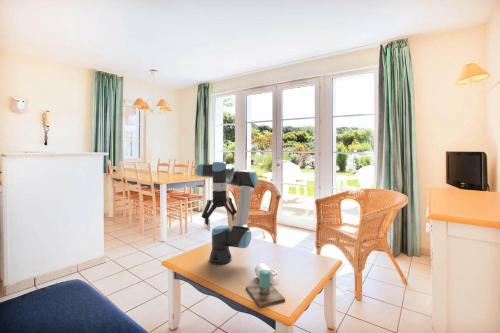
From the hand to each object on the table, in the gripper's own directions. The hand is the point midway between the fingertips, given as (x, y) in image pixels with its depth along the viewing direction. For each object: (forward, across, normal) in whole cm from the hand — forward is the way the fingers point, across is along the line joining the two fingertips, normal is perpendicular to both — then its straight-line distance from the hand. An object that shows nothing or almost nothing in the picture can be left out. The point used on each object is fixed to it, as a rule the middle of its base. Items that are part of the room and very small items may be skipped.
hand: (219, 228), depth 139 cm
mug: (+33, +26, -9) cm, 42 cm away
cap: (+27, +15, -21) cm, 38 cm away
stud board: (+32, +15, -21) cm, 41 cm away
